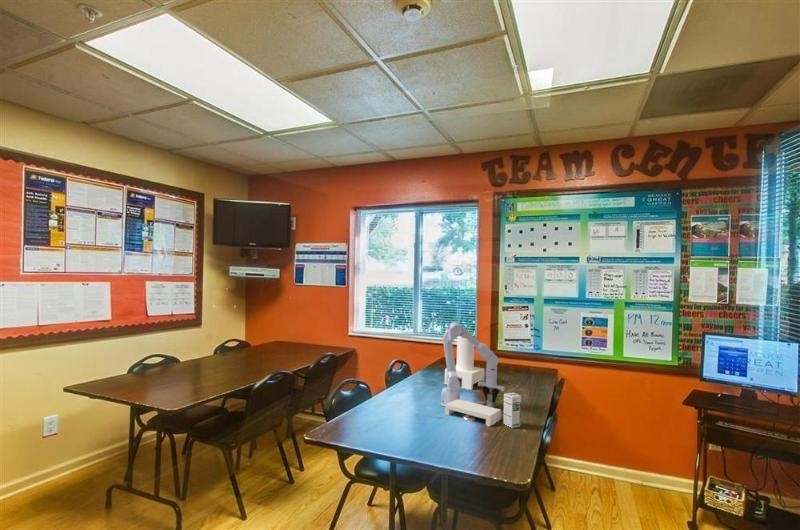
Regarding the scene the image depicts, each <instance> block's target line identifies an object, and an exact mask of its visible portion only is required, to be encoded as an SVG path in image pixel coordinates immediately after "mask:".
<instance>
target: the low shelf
mask: <svg viewBox="0 0 800 530" xmlns="http://www.w3.org/2000/svg"><path fill="white" fill-rule="evenodd" d="M444 407H445V406H444ZM444 411H445V415H446V414H447V415H446V416H450V414H451V415H453V414H455V413H456V412H458V413H462V414H465V415H472V416H476V417H480V418H479V419H484V420H485V426H486V425H487V426H486V427H489V426H490V427H492V426H493V425H495V424H497V423H498V422H500V421H501V417H502V416H501V415H502V414H501V413H502V409H501V408H497V407H496V408H495V407H494V408H492V407H488V406H487V405H483V404H478V403H475V402H471V401H467V400H462V399H460V400H459V399H457V400H454V401H452V402H450V403H447V404H446V407H445V410H444ZM454 412H455V413H454ZM452 413H453V414H452ZM499 420H500V421H499ZM496 422H497V423H496ZM491 425H492V426H491Z"/></svg>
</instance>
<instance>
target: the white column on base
mask: <svg viewBox="0 0 800 530" xmlns="http://www.w3.org/2000/svg"><path fill="white" fill-rule="evenodd" d="M456 339H457V341H456V362H455V366H456V373H457V377H458V380H461V389H464V388H465V389H464V390H469V389H470V390H469V391H472V390H474V389H473V388H474V384H476V383H477V382H485V368H484V367H483V368H482V367H478V366H474V365H475V364H474V362H475V346H474V345H473V344H472V343H471V342H470V341H469V340H468V339H467V338H466V337H462V336H460V335H459V336H458V337H456ZM447 376H448V375H447V367H446V368H445V369H444V385H445V384H447ZM477 384H478V383H477ZM446 386H448V384H447V385H446Z"/></svg>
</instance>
